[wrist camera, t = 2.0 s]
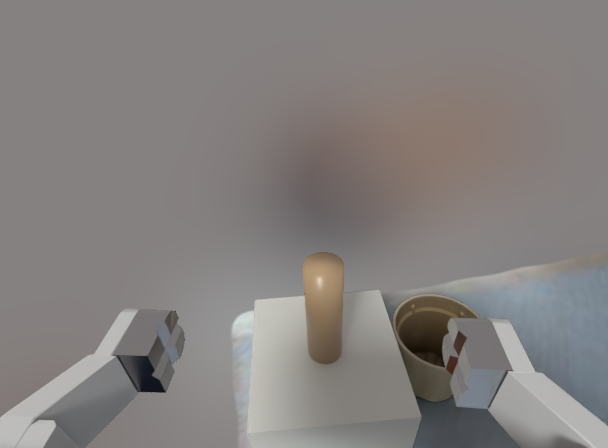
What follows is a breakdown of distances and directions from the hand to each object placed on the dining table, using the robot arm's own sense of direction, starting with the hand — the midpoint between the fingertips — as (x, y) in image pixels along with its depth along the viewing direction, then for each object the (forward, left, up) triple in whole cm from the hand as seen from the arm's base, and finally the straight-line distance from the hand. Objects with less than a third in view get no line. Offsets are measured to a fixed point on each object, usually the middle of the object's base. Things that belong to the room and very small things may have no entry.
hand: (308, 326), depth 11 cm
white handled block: (-2, -12, -30) cm, 32 cm away
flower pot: (-14, -15, -30) cm, 36 cm away
